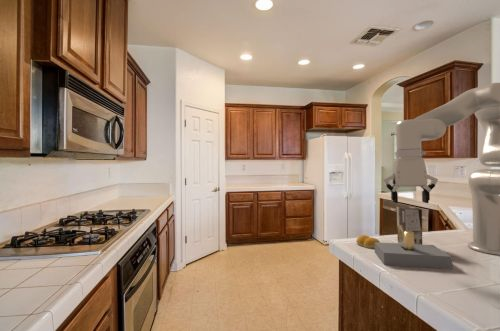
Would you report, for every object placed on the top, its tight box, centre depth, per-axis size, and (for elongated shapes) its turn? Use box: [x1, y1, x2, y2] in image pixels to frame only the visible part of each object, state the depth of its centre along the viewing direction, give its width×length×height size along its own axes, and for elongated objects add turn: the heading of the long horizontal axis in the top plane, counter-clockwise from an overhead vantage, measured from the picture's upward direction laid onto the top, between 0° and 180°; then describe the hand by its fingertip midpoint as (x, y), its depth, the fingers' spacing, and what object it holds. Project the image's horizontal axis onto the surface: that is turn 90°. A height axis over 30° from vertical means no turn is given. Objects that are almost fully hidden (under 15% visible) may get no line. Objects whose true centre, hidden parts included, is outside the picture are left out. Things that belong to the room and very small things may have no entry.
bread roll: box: [355, 234, 380, 249], centre depth 106 cm, size 8×9×4 cm
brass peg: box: [404, 231, 414, 251], centre depth 88 cm, size 3×3×10 cm
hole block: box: [374, 241, 453, 270], centre depth 88 cm, size 20×12×4 cm, turn 77°
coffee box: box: [396, 205, 423, 245], centre depth 104 cm, size 9×6×16 cm
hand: (410, 202), depth 89 cm, fingers open, 9 cm apart
